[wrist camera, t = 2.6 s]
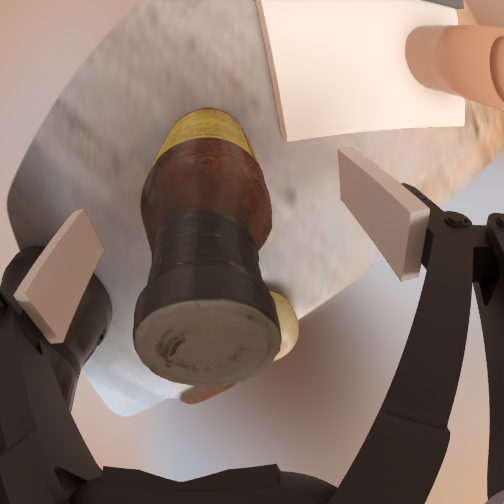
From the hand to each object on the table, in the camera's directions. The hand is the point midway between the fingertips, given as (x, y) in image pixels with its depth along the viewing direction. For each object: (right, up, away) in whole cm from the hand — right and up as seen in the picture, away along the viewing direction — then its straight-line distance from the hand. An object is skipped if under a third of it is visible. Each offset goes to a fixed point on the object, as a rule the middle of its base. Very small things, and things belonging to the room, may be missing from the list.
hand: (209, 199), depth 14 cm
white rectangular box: (+12, +14, +5) cm, 19 cm away
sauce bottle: (-2, +6, +9) cm, 12 cm away
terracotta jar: (+17, +14, +3) cm, 22 cm away
